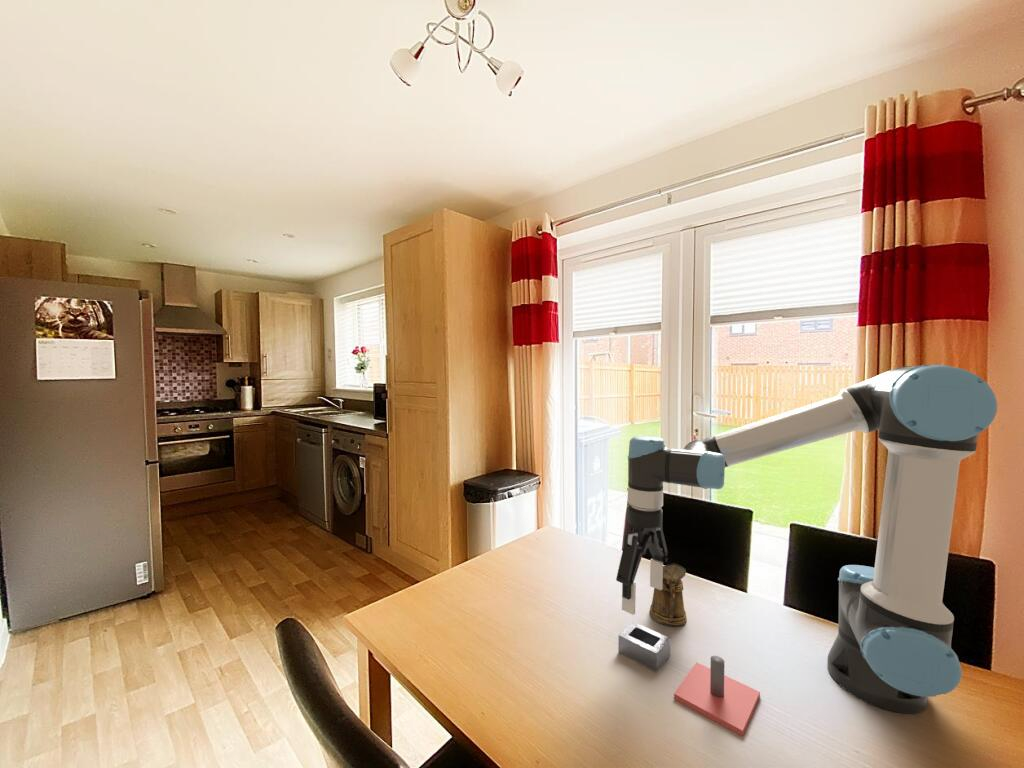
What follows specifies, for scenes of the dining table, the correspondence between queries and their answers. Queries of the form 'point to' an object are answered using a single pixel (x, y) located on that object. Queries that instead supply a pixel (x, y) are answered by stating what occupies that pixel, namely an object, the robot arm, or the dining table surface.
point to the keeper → (718, 696)
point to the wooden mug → (669, 597)
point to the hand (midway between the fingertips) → (643, 599)
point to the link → (644, 646)
